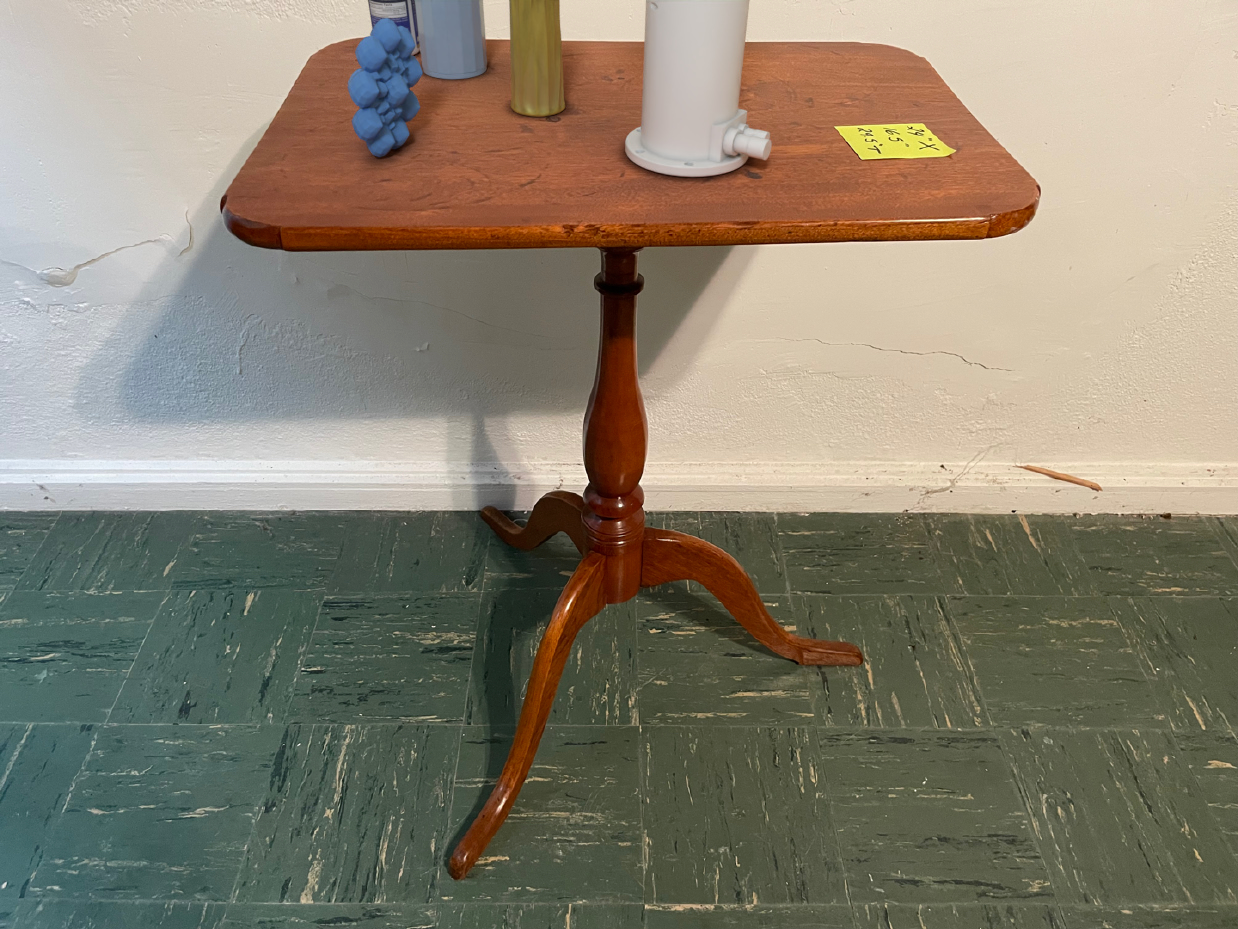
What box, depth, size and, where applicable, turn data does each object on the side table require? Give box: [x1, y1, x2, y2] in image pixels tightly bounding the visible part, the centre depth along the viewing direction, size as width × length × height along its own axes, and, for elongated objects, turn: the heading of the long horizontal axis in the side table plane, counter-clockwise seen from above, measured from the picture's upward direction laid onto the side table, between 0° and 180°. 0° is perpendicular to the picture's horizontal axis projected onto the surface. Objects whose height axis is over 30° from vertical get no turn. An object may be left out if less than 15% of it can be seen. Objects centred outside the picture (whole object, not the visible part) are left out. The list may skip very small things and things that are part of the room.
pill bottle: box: [367, 0, 420, 56], centre depth 114 cm, size 6×6×10 cm
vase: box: [508, 0, 566, 118], centre depth 99 cm, size 6×6×14 cm
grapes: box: [347, 18, 424, 158], centre depth 90 cm, size 12×7×12 cm, turn 161°
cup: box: [415, 0, 488, 80], centre depth 110 cm, size 8×8×9 cm
